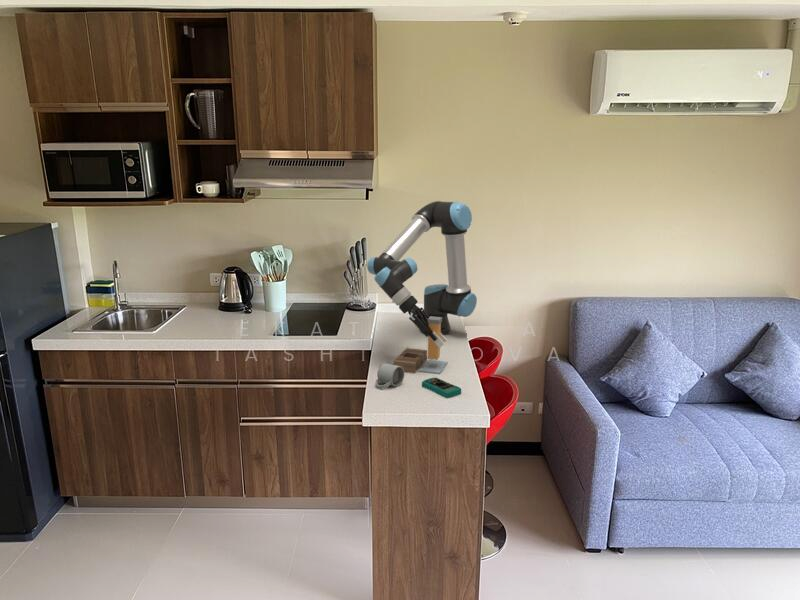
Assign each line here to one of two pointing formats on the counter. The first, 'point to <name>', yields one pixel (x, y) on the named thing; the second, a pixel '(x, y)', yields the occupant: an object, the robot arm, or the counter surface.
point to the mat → (434, 366)
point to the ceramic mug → (390, 375)
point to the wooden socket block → (411, 359)
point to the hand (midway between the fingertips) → (443, 344)
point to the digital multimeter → (441, 387)
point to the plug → (432, 347)
